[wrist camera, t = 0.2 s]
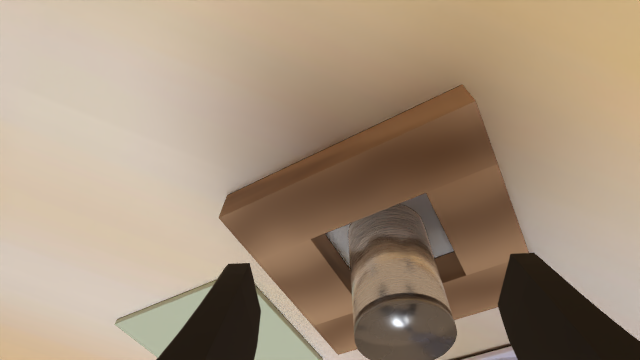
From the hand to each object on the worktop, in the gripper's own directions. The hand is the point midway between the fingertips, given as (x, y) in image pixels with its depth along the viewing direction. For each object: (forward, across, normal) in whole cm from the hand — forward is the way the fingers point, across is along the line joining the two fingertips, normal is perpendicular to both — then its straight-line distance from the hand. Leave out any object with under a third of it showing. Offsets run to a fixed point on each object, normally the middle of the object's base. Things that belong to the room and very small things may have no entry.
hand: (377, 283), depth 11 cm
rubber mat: (+10, +10, +17) cm, 22 cm away
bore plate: (+10, -2, +7) cm, 12 cm away
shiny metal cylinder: (+10, -2, +7) cm, 12 cm away
